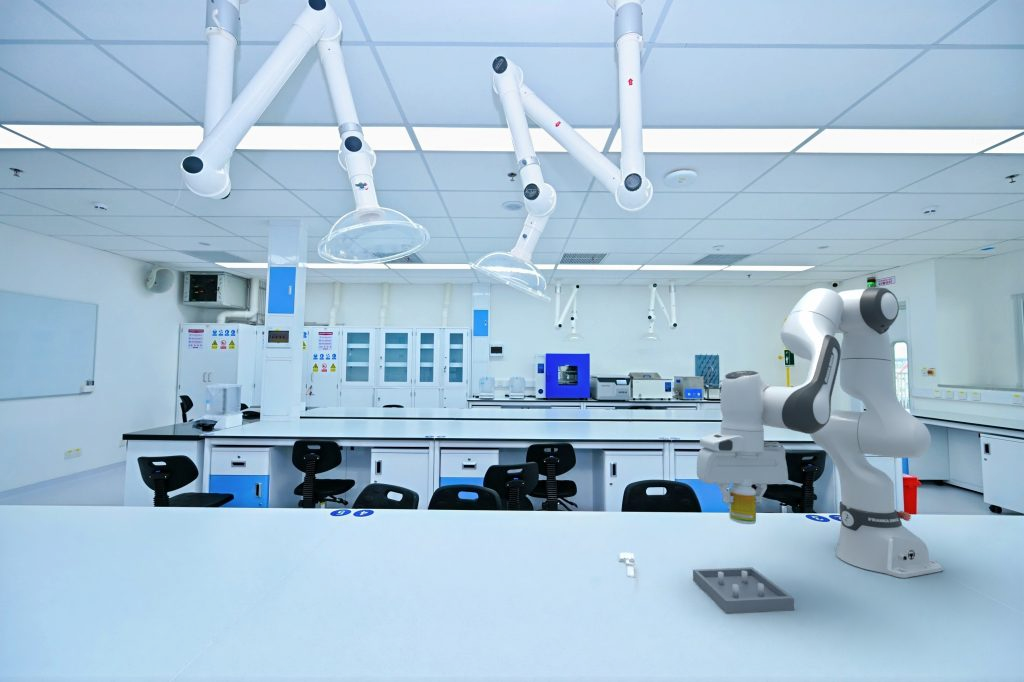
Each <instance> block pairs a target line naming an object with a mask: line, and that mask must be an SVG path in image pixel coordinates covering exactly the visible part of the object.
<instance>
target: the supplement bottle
mask: <svg viewBox="0 0 1024 682" xmlns="http://www.w3.org/2000/svg"><path fill="white" fill-rule="evenodd" d="M752 486H753V484H752V483H751V480H750V479H745V480H744V482H743V483H741V484H732V485H729V491H728V492H729V494H731V495H733V497H734V499H733V501H734V502H733V503H728V504H729V508H728V509H729V510H728V511H729V513H728V514H729V516H728V517H729V520H731V521H733V522H734V523H738V524H742V525H754V524H756V522H757V503H756V489H755V488H754V487H752Z"/></svg>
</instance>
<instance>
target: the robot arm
mask: <svg viewBox="0 0 1024 682" xmlns="http://www.w3.org/2000/svg"><path fill="white" fill-rule="evenodd" d="M794 305H795V306H794V307H793V308H792V310H791V311H790V313H789V314H788V316H787V317H786V320H785V321H784V323H783V325H782V327H781V330H780V331H781V332H780V337H781V342H782V343H783V346H784V347H785V348H786V349H787V350H788V351H789V352H790V353H792V354H793V355H794V356H796V357H799V358H801V359H803V360H807V361H810V365H809V368H808V372H807V375H806V380H805V382H804V383H802V384H800V385H797V386H796V385H795V386H778V385H771V384H769V383H767V382H765V381H764V380H763V379H762V377H761V375H760V373H759V372H757V371H754V370H741V371H740V370H739V371H732V372H729V373H727V374H725V375H724V377H723V379H722V382H721V388H720V412H721V415H722V416H721V417H722V421H721V423H720V431H716V432H714V433H712V434H709V435H705V436H703V437H701V438H700V439H699V446H701V449H700V450H699V451H698V453H697V459H696V461H697V462H696V477H697V479H699V480H700V482H703V483H705V484H714V485H715V484H717V487H718V488H719V490H720V492H721V494H722V501H723V503H725V504H729V503H733V502H734V501H733V499H734V497H733V495H731V494H729V491H728V489H730V485H731V484H732V485H734V484H741V483H743V482H744V480H745V479H750V480H751V483H752V485H755V487H756V489H755V491H756V504H762V503H763V496H764V494H765V492H766V490H767V489H768V484H773V485H775V484H781V485H782V484H783V485H784V484H785V483H787V481H788V480H789V473H788V465H787V460H786V449H785V447H784V446H783V444H780V443H779V441H765V440H764V439H765V431H764V430H765V429H764V426H767V427H772V428H779V429H786V430H791V431H794V432H799V433H803V434H807V435H809V436H810V438H811V439H812V441H813V442H814V443H815V444H816V445H817V446H819V447H821V449H822V450H823V451H825V452H826V454H827V455H828V456H829V458H830V459H831V460H832V461H833V464H834V465H835V467H836V470H837V472H838V476H839V477H838V478H839V484H840V497H841V501H840V502H839V508H838V509H839V516H840V517H839V518H840V527H839V528H840V529H839V534H838V535H839V536H838V537H839V538H838V542H837V547H836V550H835V555H836V557H837V558H839V559H840V560H842V561H843V562H845V563H847V564H849V565H852V566H855V567H858V568H861V569H863V570H868V571H873V572H876V573H877V572H878V573H882V574H886V575H890V576H893V577H895V578H896V577H897V578H902V579H906V578H911V577H916V576H922V575H923V576H924V575H927V574H934V573H938V572H943V571H944V569H943V566H942V565H941V564H940V563H938V562H937V561H935V560H933V559H932V558H930V555H929V549H928V546H927V544H926V542H924V540H922V538H920V537H919V536H917V535H916V534H914V533H913V532H912V531H911V530H909V529H908V528H907V527H905V525H903V523H902V520H904V521H905V522H909V521H910V520H911V519H912V515H911V514H910V513H909V512H905V511H903V510H900V511H897V510H896V508H895V485H894V482H893V480H892V479H891V477H890V476H889V475H888V474H887V473H886V472H884V471H882V470H881V469H879V468H877V467H875V466H874V465H872V464H871V463H870V461H868V459H867V458H866V455H872V456H881V457H885V458H886V457H887V458H893V459H894V458H895V459H910V458H911V459H912V458H913V459H914V458H916V459H917V458H921V457H922V456H924V455H925V454H926V453H927V452H928V450H929V448H930V446H931V442H932V438H931V433H930V431H929V429H928V427H927V426H926V424H925V423H923V421H921V420H920V419H918V418H917V417H915V416H914V415H913V414H911V413H910V412H909V411H907V410H906V409H905V407H904V406H903V405H902V404H901V402H900V401H899V399H898V397H897V396H896V392H895V389H894V380H893V357H892V356H893V353H892V346H891V340H890V335H889V331H888V330H890V327H891V326H893V324H894V323H895V321H896V320H897V318H898V315H899V309H900V307H899V302H898V297H897V296H896V295H895V294H894V293H893V292H892V291H891V290H890V289H888V288H886V287H875V286H874V287H873V286H872V287H867V288H861V289H860V288H859V289H849V290H848V289H847V290H843V291H842V290H841V291H840V292H836V291H835V290H833V289H830V288H825V287H819V288H818V287H817V288H813V289H811V290H809V291H808V292H806V293H805V294H804V295H803V296H802V297H801V298H800V299H799V300H798V301H797V302H796V304H794ZM836 334H842V342H841V345H840V343H839V340H838V339H837V338H836V337H835V335H836ZM838 371H839V386H840V388H841V389H842V391H843V393H844V392H845V394H847V395H849V396H850V397H852V398H854V399H857V400H859V401H861V402H863V404H864V406H865V411H854V410H853V411H852V410H840V409H838V410H837V409H834V410H833V409H832V410H831V408H832V395H833V391H834V387H835V383H836V379H837V374H838Z"/></svg>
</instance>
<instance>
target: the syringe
mask: <svg viewBox="0 0 1024 682" xmlns="http://www.w3.org/2000/svg"><path fill="white" fill-rule="evenodd" d="M618 562H619V563H624V562H625V563H624V564H625V566H626V574H627V575H626V576H627V577H628V578H634V577H636V575H635V572H634V571H635V569H634V567H633V566H636V562H635V554H634V553H633V552H632V551H631V552H629V551H627V552H625V551H623V552H620V553H619V554H618ZM638 581H639V580H638V579H637V582H638Z"/></svg>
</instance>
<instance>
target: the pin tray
mask: <svg viewBox="0 0 1024 682" xmlns="http://www.w3.org/2000/svg"><path fill="white" fill-rule="evenodd" d="M692 580H693V582H694V583H695V584H696V585H697V586H698V587H699V588H700V589H701V590H702V591H703V592H704V593H705V594H706V595H707V596H708V597H709V598H711V600H713V602H714V603H715V604H717V605H718V606H719V608H720V609H721V610H722V611H724V612H725V613H726V614H743V613H746V614H747V613H762V612H763V613H764V612H765V613H766V612H779V611H780V612H781V611H782V612H784V611H795V597H793V596H792V595H791V594H790V593H788V592H786V591H785V590H784V589H783V588H781V587H780V586H779V585H778V584H776V583H774V582H773V581H771V580H770V579H769V578H767V577H766V576H765V575H763V574H762V573H761V572H759V571H758V570H757V569H755V568H754V567H752V566H751V567H731V568H730V567H727V568H726V567H725V568H704V569H703V568H699V569H698V568H697V569H692Z"/></svg>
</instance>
